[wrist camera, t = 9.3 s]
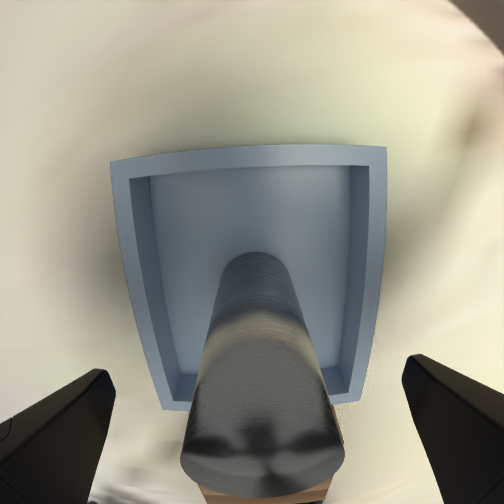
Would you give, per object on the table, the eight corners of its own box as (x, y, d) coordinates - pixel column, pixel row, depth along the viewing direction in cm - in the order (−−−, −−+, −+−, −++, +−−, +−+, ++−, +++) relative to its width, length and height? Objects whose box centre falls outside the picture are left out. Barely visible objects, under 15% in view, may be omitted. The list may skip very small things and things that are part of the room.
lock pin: (290, 314, 15) (331, 490, 5) (223, 317, 15) (196, 496, 5) (290, 249, 14) (359, 412, 4) (216, 253, 14) (161, 421, 4)
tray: (346, 368, 17) (359, 400, 14) (173, 376, 17) (163, 409, 14) (360, 149, 13) (386, 146, 10) (136, 161, 13) (110, 161, 10)
